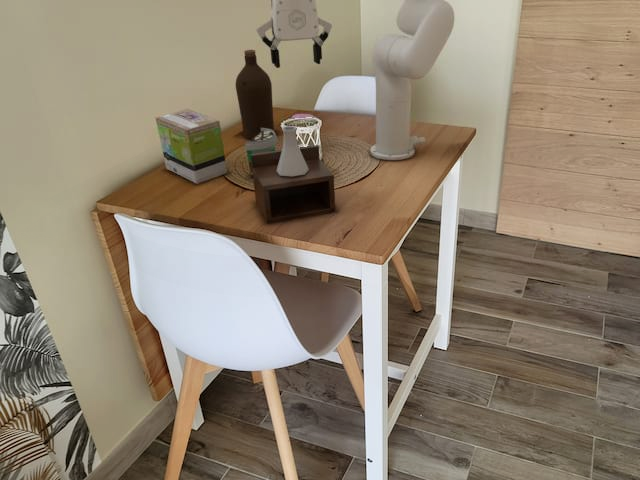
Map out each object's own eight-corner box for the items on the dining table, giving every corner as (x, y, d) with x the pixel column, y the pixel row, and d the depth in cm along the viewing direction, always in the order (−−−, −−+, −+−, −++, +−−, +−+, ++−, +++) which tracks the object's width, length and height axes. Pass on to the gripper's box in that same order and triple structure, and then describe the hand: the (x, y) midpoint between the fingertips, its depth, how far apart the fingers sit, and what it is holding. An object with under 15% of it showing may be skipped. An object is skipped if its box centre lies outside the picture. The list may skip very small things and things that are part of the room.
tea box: (165, 170, 154) (153, 116, 146) (197, 160, 160) (187, 107, 152) (196, 185, 145) (186, 128, 138) (228, 173, 152) (220, 118, 144)
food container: (271, 181, 147) (267, 143, 141) (249, 179, 148) (244, 142, 143) (286, 163, 157) (283, 128, 152) (265, 162, 158) (261, 127, 153)
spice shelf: (320, 191, 141) (317, 144, 134) (335, 211, 131) (333, 162, 125) (256, 202, 136) (250, 154, 130) (266, 223, 126) (261, 172, 120)
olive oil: (276, 139, 174) (268, 53, 161) (241, 141, 173) (230, 55, 160) (275, 128, 183) (267, 46, 170) (242, 130, 182) (231, 48, 169)
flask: (277, 166, 131) (273, 123, 126) (308, 164, 132) (305, 122, 126) (275, 178, 125) (271, 134, 120) (308, 176, 125) (305, 132, 120)
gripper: (255, -13, 119) (264, 71, 128) (334, -18, 124) (337, 64, 133) (248, -17, 125) (257, 65, 134) (324, -20, 130) (327, 58, 139)
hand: (297, 64), depth 133 cm, fingers open, 9 cm apart
